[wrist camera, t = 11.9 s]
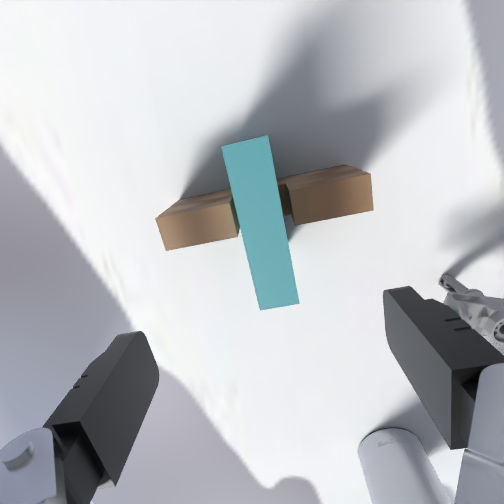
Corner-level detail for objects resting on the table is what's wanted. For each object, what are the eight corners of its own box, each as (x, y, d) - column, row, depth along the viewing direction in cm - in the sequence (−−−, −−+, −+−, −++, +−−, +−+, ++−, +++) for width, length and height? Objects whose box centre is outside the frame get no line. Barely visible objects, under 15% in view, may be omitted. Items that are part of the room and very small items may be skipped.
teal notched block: (236, 142, 31) (220, 146, 19) (265, 135, 31) (268, 135, 19) (260, 250, 35) (260, 310, 23) (286, 245, 35) (299, 303, 23)
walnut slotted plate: (345, 164, 32) (370, 173, 24) (348, 193, 33) (373, 210, 25) (179, 200, 34) (155, 218, 26) (186, 225, 35) (166, 250, 27)
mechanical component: (406, 263, 35) (457, 309, 26) (493, 274, 36) (575, 324, 26) (398, 286, 37) (445, 337, 27) (482, 297, 37) (558, 352, 27)
